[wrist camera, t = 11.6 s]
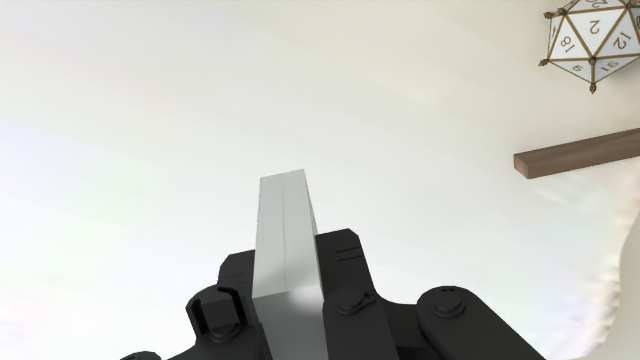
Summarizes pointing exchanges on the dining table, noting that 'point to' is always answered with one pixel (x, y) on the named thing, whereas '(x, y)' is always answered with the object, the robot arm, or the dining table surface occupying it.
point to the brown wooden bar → (578, 154)
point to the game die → (594, 38)
